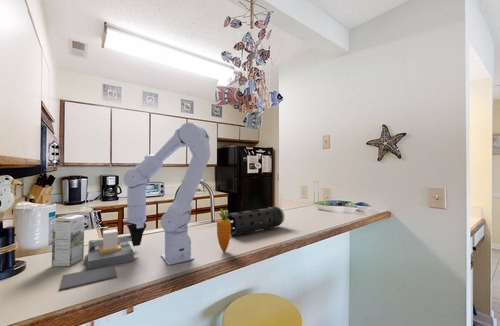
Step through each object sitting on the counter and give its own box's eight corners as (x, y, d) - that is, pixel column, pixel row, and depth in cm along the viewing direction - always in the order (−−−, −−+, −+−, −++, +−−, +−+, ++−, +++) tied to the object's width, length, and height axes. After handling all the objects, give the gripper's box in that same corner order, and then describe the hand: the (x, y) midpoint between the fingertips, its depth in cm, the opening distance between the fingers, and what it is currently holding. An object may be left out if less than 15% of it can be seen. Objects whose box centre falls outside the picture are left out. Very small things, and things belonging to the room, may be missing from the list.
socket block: (133, 260, 74) (133, 252, 74) (87, 270, 67) (87, 261, 67) (127, 246, 87) (127, 240, 87) (88, 253, 80) (88, 246, 80)
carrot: (232, 253, 79) (232, 209, 80) (218, 255, 78) (217, 210, 78) (229, 249, 84) (229, 207, 84) (215, 250, 83) (215, 208, 83)
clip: (138, 242, 84) (138, 234, 84) (88, 250, 76) (88, 242, 76) (137, 241, 86) (138, 233, 86) (88, 249, 77) (88, 240, 77)
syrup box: (66, 259, 76) (67, 214, 76) (84, 259, 76) (84, 214, 76) (51, 266, 70) (51, 218, 70) (70, 266, 70) (70, 218, 70)
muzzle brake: (225, 234, 103) (225, 211, 103) (272, 225, 120) (272, 205, 120) (236, 239, 95) (236, 214, 96) (285, 229, 112) (285, 207, 112)
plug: (121, 257, 76) (121, 231, 77) (99, 261, 73) (99, 234, 73) (119, 251, 81) (119, 228, 82) (99, 255, 78) (99, 230, 78)
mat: (116, 277, 63) (116, 275, 63) (59, 290, 56) (59, 289, 56) (114, 265, 70) (114, 264, 70) (63, 276, 63) (63, 275, 63)
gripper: (121, 203, 83) (120, 241, 83) (126, 209, 71) (125, 254, 71) (142, 201, 87) (142, 238, 87) (150, 207, 75) (150, 249, 75)
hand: (136, 245), depth 79 cm, fingers closed
